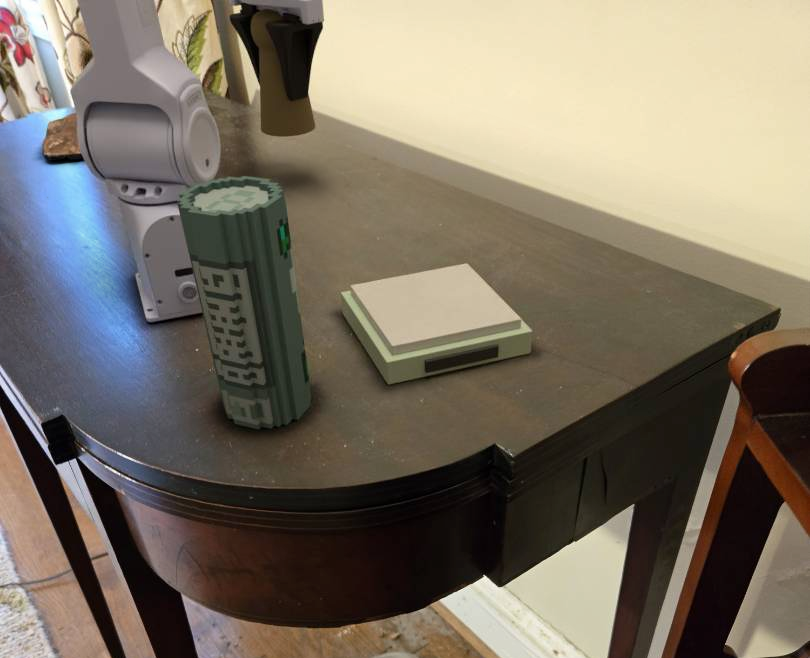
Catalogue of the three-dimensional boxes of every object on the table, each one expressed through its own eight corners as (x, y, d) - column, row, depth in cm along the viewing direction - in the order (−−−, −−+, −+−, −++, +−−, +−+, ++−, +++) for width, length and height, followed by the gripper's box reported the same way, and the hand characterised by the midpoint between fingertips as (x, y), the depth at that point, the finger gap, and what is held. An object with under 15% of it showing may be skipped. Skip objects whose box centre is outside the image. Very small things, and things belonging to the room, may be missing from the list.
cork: (306, 137, 83) (293, 15, 75) (253, 135, 84) (235, 15, 76) (321, 120, 87) (311, 3, 79) (271, 118, 88) (255, 3, 80)
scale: (532, 355, 61) (535, 323, 59) (389, 387, 58) (387, 354, 56) (470, 288, 69) (471, 258, 67) (342, 313, 66) (339, 283, 64)
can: (324, 390, 58) (299, 183, 47) (283, 436, 54) (247, 220, 43) (254, 374, 60) (216, 172, 49) (210, 417, 56) (158, 206, 45)
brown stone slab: (38, 139, 103) (28, 109, 100) (134, 125, 106) (127, 96, 103) (46, 166, 95) (35, 134, 92) (149, 149, 98) (142, 119, 96)
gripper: (344, -65, 71) (354, 99, 81) (260, -76, 79) (278, 74, 89) (280, -56, 68) (299, 113, 78) (199, -69, 76) (225, 86, 86)
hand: (284, 93), depth 83 cm, fingers closed on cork, 5 cm apart
